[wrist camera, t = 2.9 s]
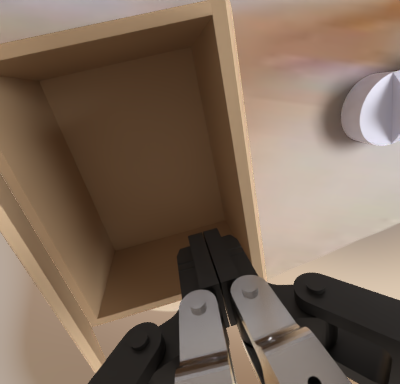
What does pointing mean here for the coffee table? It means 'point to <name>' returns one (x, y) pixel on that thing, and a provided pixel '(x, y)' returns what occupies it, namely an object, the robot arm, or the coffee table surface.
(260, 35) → the coffee table surface
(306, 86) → the coffee table surface
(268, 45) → the coffee table surface
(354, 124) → the wedge on round base
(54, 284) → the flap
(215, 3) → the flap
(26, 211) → the carton
